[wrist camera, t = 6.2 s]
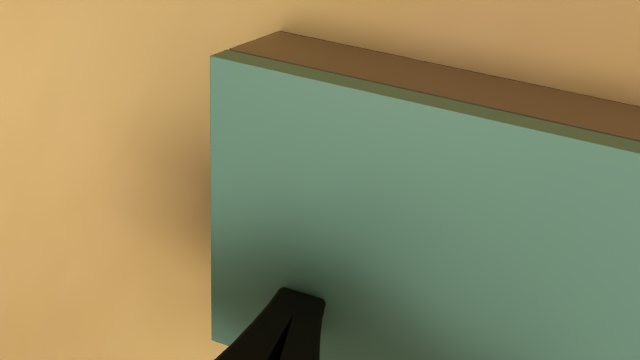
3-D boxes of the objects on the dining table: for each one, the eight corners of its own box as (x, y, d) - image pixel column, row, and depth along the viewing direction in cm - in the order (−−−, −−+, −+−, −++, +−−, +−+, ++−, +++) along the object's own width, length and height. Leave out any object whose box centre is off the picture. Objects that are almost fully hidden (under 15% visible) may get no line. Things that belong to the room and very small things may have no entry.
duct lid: (1070, 237, 6) (1146, 268, 6) (688, 479, 12) (704, 510, 11) (227, 49, 9) (209, 55, 8) (222, 322, 14) (211, 339, 13)
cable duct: (863, 154, 9) (1062, 234, 6) (635, 376, 15) (688, 478, 12) (279, 30, 12) (228, 48, 9) (258, 261, 17) (222, 322, 14)
